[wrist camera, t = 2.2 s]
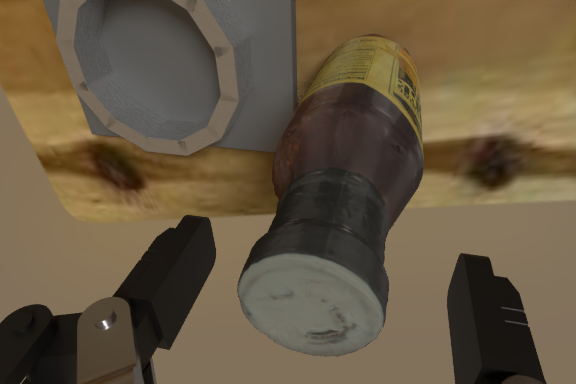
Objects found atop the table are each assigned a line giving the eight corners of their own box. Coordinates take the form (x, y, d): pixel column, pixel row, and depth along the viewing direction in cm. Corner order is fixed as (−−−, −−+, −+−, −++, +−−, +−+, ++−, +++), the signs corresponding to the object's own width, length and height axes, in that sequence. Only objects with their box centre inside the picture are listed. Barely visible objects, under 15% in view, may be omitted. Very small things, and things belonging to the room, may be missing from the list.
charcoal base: (294, -67, 22) (288, -66, 21) (298, 146, 31) (294, 154, 30) (35, -60, 26) (21, -59, 25) (100, 127, 34) (92, 134, 33)
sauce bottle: (410, 123, 27) (410, 412, 12) (322, 116, 29) (217, 367, 13) (427, 24, 23) (461, 259, 8) (324, 21, 25) (179, 217, 9)
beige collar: (242, -49, 22) (223, -43, 20) (259, 142, 30) (246, 162, 27) (61, -45, 25) (26, -41, 23) (117, 128, 32) (94, 145, 30)
